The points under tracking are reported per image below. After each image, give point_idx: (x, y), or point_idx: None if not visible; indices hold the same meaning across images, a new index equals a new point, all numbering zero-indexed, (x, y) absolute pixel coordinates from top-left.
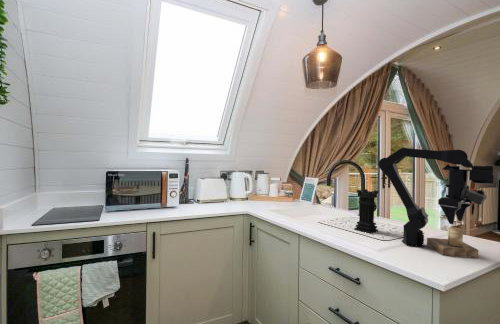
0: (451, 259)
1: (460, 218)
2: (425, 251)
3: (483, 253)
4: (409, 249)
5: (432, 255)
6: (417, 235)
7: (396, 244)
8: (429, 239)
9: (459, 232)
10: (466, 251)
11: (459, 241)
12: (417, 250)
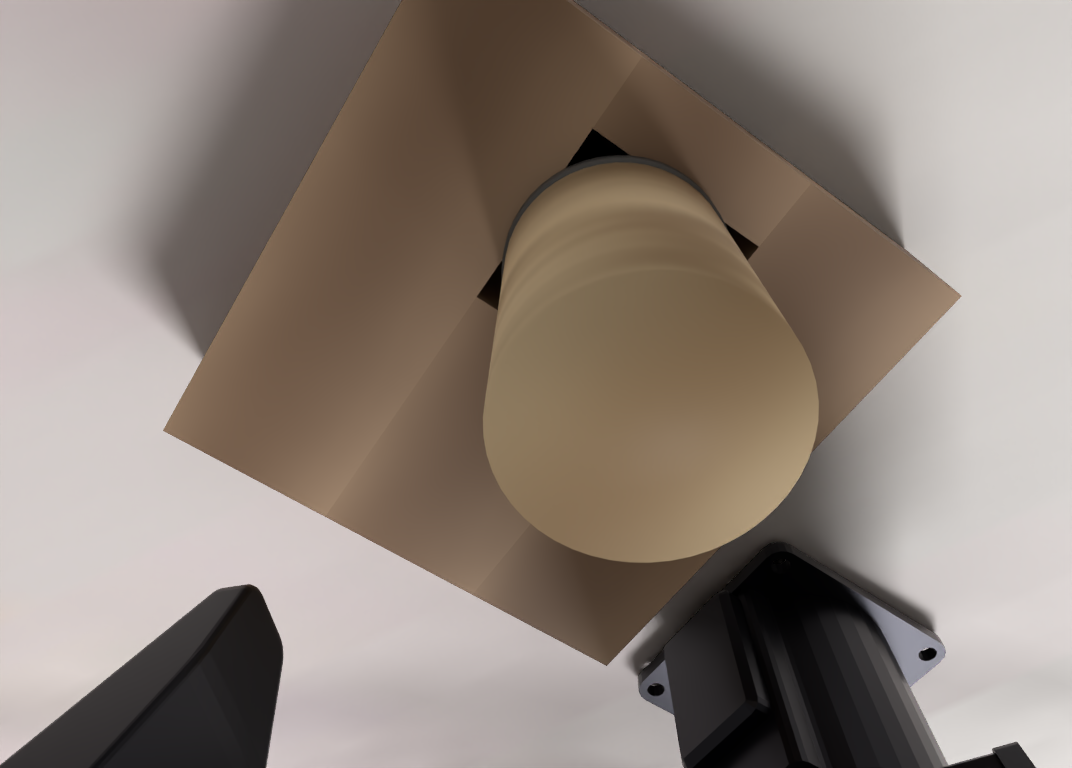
0: (1002, 75)
1: (235, 672)
2: (947, 439)
3: (99, 17)
4: (1058, 561)
5: (1057, 303)
6: (896, 717)
7: (985, 720)
8: (653, 611)
9: (739, 275)
10: (635, 49)
11: (689, 202)
12: (1004, 502)
